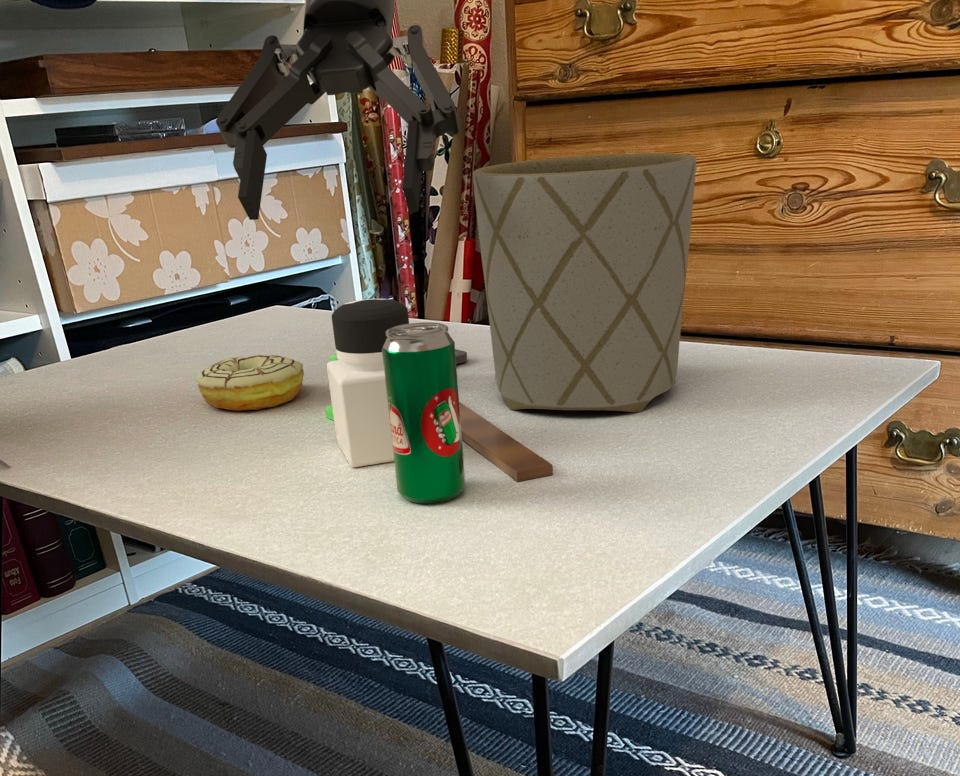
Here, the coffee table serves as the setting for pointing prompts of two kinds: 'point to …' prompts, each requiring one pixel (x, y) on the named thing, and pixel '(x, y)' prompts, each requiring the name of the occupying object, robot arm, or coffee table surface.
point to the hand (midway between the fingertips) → (328, 205)
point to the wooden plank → (501, 448)
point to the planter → (585, 276)
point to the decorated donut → (251, 382)
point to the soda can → (424, 411)
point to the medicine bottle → (362, 379)
